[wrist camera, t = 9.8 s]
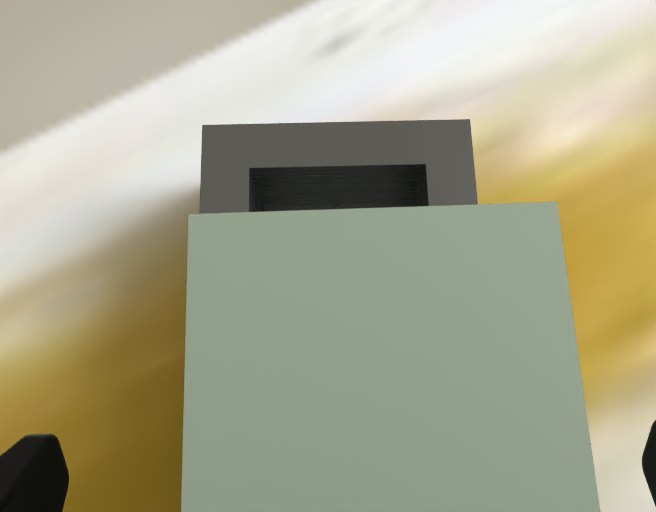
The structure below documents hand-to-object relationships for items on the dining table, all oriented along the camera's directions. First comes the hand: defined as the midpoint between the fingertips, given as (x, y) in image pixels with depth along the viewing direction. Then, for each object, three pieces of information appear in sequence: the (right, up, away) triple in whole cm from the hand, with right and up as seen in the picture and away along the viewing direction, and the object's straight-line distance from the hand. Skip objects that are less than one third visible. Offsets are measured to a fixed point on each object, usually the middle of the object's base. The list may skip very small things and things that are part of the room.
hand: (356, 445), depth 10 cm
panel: (0, -2, +7) cm, 7 cm away
